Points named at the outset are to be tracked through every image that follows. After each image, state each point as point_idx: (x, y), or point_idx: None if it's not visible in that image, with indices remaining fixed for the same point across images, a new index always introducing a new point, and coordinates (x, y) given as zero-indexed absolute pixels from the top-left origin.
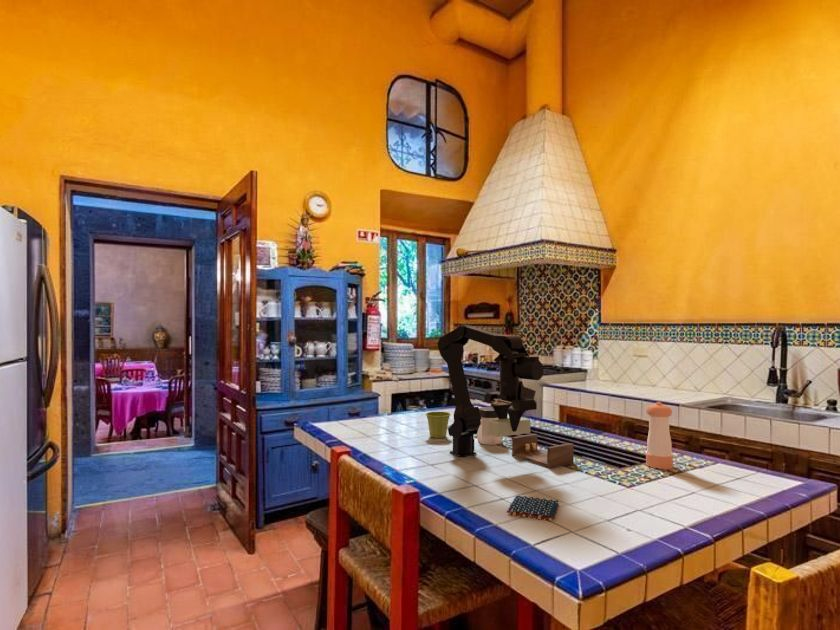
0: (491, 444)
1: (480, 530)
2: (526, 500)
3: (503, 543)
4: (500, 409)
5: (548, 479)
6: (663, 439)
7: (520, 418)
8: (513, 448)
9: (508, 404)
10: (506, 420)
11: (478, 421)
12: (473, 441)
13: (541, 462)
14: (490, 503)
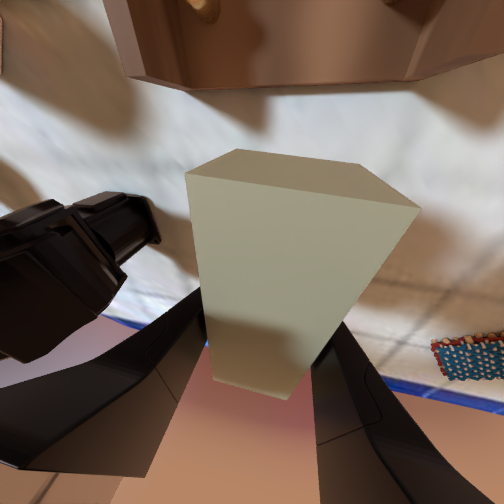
0: (1, 34)
1: (429, 397)
2: (470, 358)
3: (473, 407)
4: (159, 420)
5: (459, 207)
6: None
7: (386, 386)
8: (173, 86)
9: (51, 468)
10: (264, 358)
11: (51, 256)
12: (105, 209)
13: (362, 81)
14: (394, 357)
